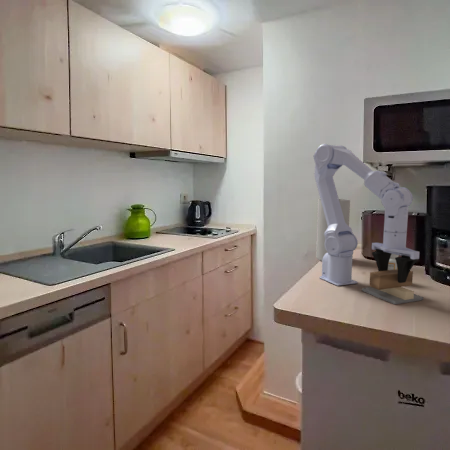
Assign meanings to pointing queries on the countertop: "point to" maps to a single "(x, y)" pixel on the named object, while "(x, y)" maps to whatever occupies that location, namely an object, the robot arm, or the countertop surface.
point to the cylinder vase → (323, 225)
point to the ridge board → (389, 297)
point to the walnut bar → (388, 279)
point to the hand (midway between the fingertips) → (392, 279)
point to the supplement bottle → (392, 262)
